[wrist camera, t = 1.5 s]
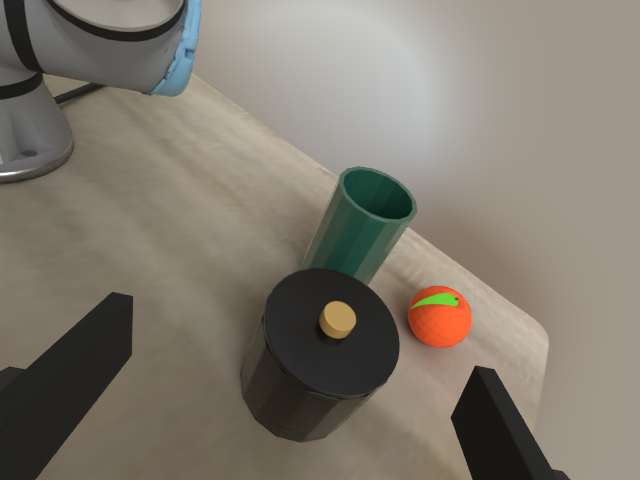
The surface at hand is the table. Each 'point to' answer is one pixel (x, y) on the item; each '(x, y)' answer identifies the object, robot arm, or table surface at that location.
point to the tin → (360, 224)
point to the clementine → (439, 316)
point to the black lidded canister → (317, 354)
